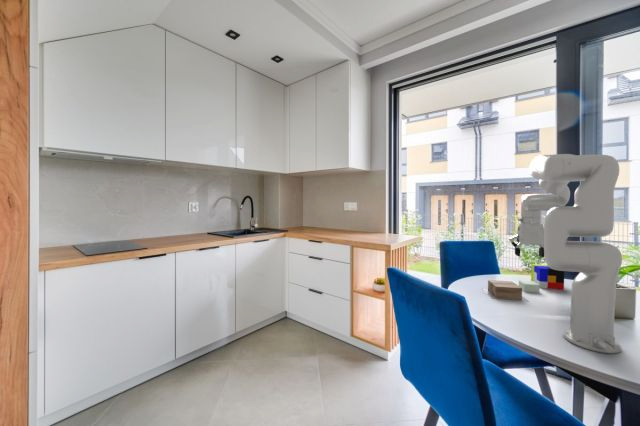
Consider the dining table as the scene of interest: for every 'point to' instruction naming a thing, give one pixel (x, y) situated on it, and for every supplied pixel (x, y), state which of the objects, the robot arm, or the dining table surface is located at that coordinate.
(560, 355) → the dining table surface
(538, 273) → the puzzle toy
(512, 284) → the walnut block
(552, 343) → the dining table surface
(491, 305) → the dining table surface
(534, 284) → the sage brick
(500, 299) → the baseplate
